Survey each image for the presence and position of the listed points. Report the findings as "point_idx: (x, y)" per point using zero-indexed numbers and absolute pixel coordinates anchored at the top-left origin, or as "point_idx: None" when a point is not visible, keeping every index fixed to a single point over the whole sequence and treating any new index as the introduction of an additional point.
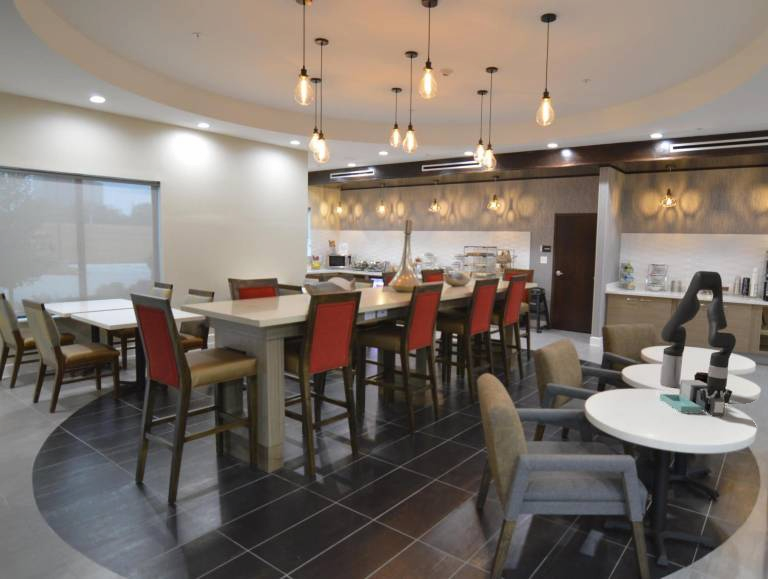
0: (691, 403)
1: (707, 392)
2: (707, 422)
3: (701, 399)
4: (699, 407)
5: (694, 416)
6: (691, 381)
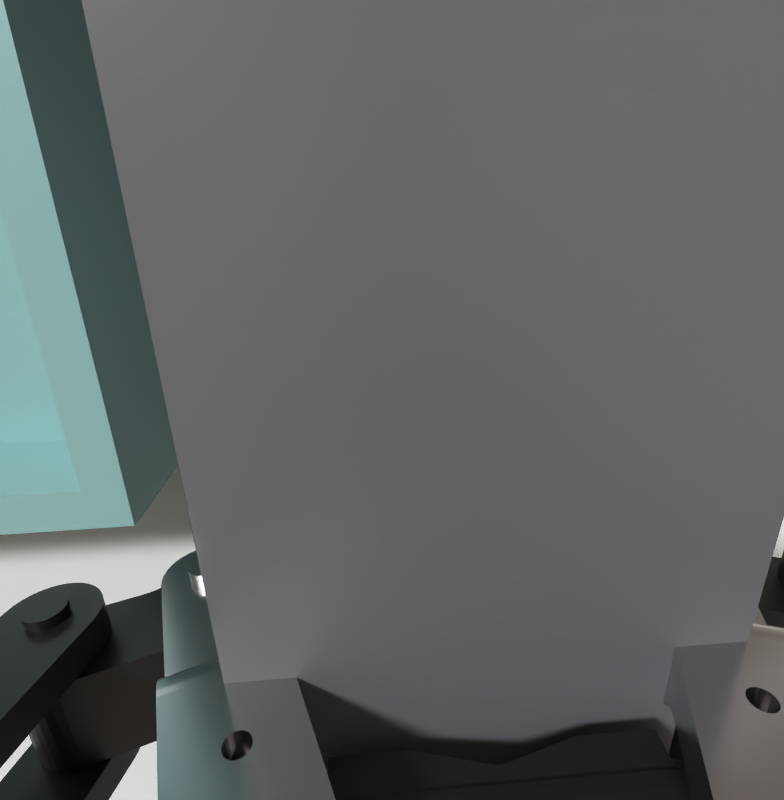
0: (9, 159)
1: (643, 4)
2: (117, 786)
3: (8, 651)
4: (91, 522)
5: (6, 610)
6: None
